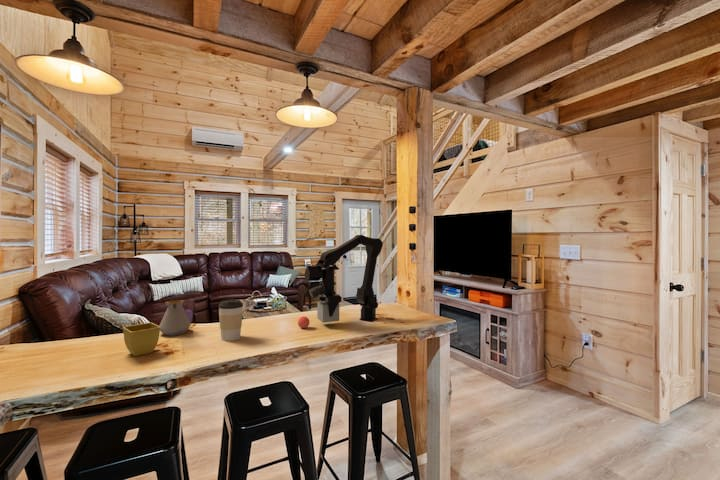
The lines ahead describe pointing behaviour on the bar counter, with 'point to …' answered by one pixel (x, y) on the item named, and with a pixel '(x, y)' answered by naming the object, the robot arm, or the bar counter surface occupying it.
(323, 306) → the grey cube
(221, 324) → the coffee cup
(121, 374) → the bar counter surface
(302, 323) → the ball
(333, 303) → the robot arm
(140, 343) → the flower pot
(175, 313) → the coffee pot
